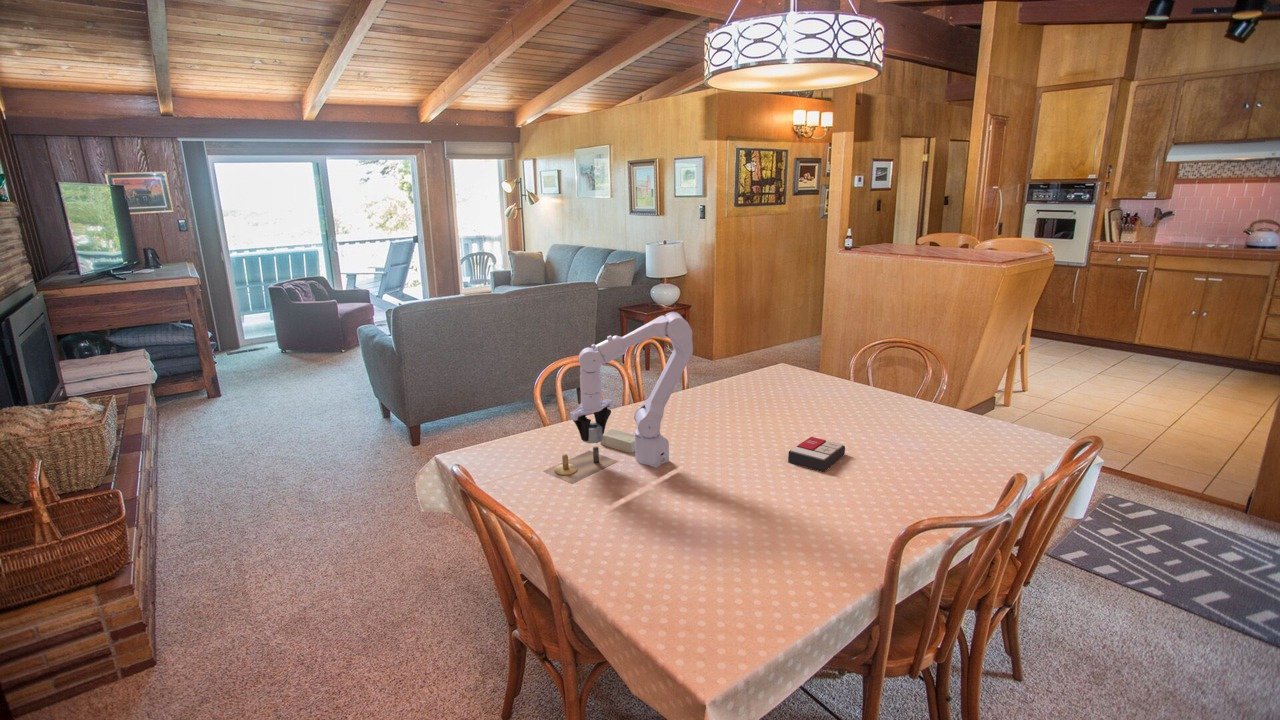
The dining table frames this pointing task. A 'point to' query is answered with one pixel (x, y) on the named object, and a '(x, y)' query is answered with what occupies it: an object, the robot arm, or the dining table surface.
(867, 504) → the dining table surface
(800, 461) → the calculator
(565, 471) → the board
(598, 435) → the collar
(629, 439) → the skincare box
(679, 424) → the dining table surface
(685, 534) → the dining table surface
